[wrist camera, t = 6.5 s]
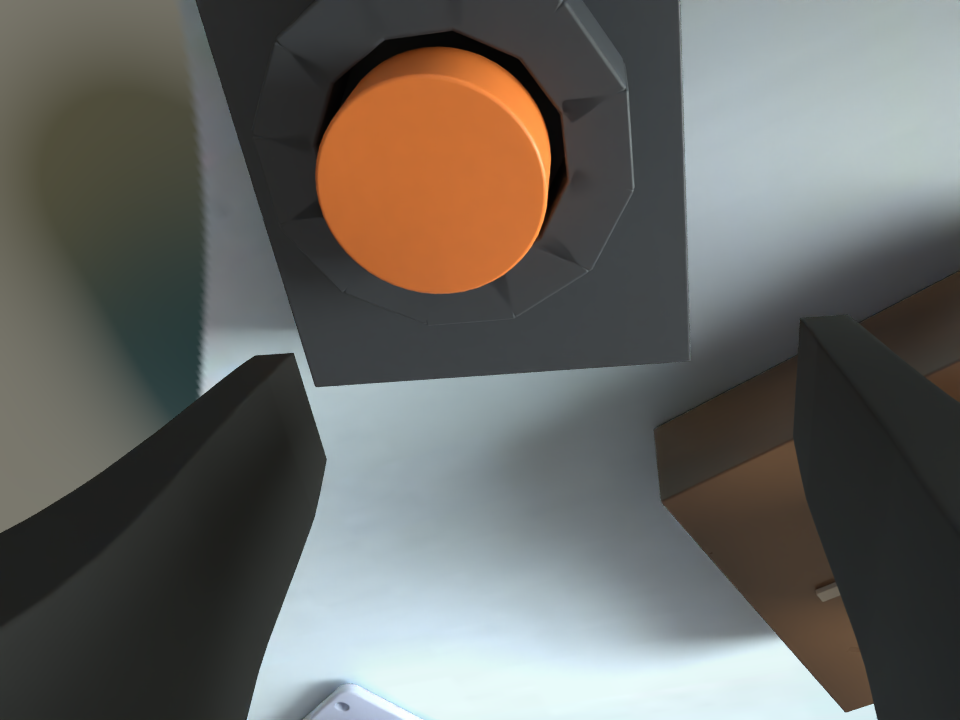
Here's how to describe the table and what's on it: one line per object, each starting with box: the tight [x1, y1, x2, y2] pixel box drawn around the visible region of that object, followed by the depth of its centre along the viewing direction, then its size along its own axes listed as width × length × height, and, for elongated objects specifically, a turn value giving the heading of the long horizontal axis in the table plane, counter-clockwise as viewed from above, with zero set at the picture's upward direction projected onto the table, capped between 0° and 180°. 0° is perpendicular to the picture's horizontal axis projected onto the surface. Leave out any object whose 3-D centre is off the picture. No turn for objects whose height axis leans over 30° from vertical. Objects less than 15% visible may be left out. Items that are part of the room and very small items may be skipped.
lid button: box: [315, 47, 551, 294], centre depth 16 cm, size 4×4×2 cm
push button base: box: [196, 0, 691, 387], centre depth 18 cm, size 12×9×4 cm
